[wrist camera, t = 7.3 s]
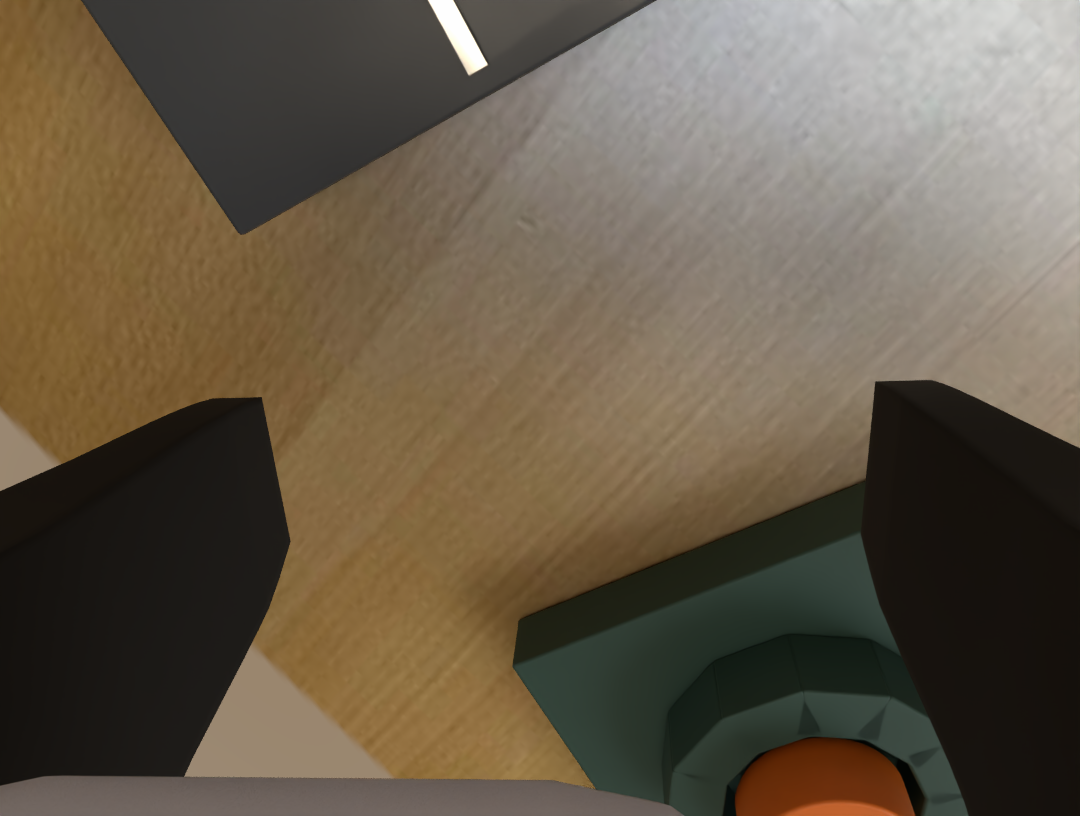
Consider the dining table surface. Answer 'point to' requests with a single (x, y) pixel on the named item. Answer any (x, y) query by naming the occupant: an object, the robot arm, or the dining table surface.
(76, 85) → the dining table surface
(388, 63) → the dial panel
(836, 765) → the button
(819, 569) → the button base
